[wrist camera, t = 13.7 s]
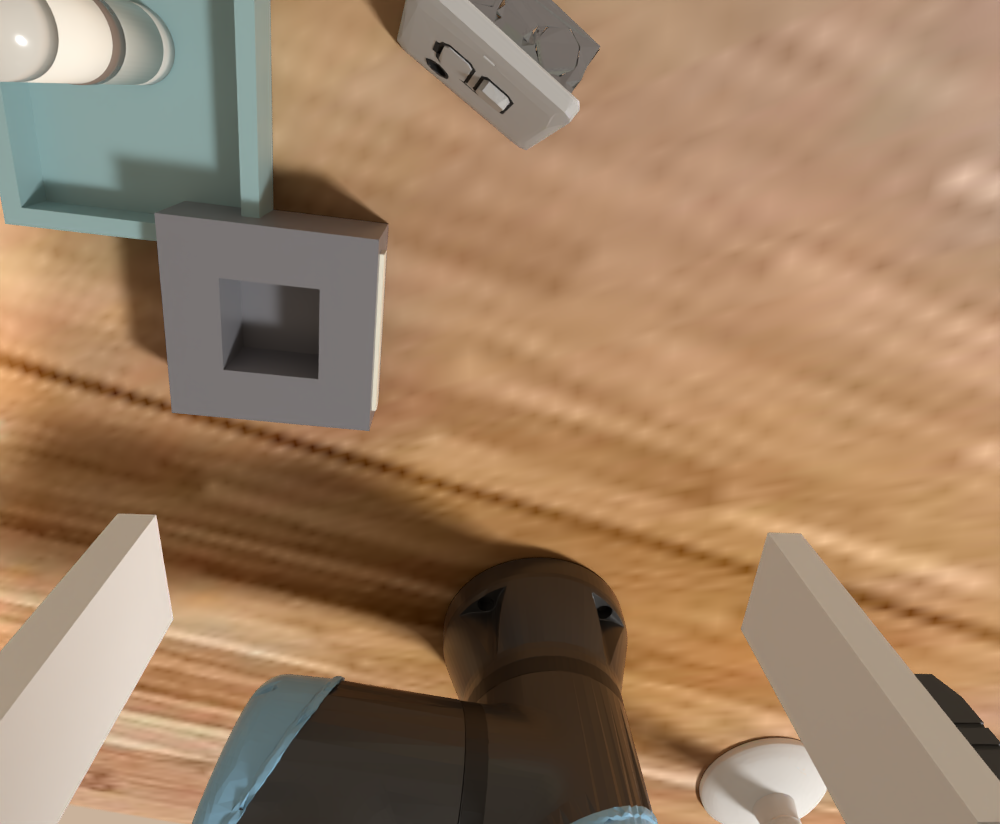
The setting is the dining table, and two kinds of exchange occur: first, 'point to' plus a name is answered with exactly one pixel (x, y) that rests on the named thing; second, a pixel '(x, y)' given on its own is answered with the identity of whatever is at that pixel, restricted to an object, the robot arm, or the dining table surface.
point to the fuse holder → (272, 314)
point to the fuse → (83, 42)
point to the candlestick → (762, 783)
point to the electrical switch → (502, 59)
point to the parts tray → (148, 131)
